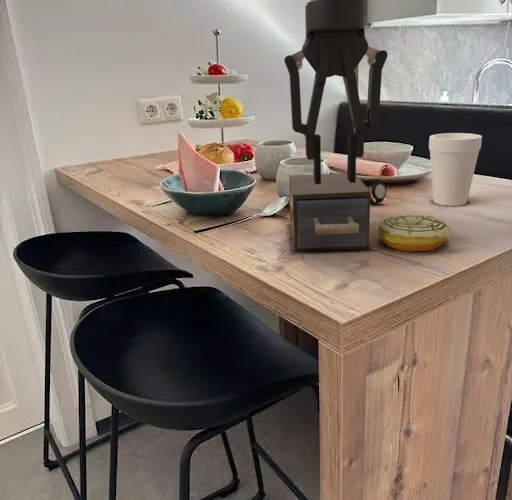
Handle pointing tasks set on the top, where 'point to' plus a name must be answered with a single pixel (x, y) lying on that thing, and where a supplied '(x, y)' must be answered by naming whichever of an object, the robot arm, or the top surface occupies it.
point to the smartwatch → (376, 190)
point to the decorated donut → (414, 232)
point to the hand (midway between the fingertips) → (334, 180)
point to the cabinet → (329, 188)
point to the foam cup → (453, 166)
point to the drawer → (332, 222)
